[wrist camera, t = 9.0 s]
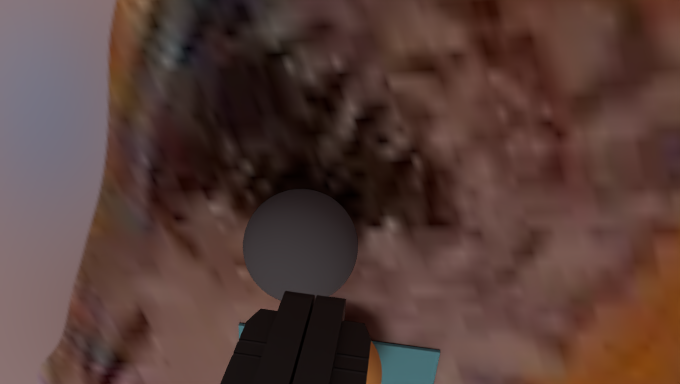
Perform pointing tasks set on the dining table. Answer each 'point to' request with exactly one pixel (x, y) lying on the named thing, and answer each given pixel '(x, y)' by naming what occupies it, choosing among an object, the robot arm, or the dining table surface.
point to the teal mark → (403, 363)
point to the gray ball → (300, 244)
